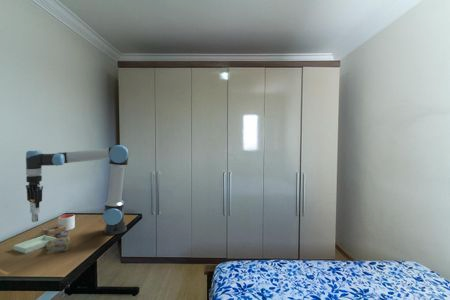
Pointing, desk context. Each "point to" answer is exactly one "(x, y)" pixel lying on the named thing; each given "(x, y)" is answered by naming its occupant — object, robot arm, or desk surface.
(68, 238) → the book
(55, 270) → the desk surface
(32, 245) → the tray
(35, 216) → the lock pin
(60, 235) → the block
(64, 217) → the cup
